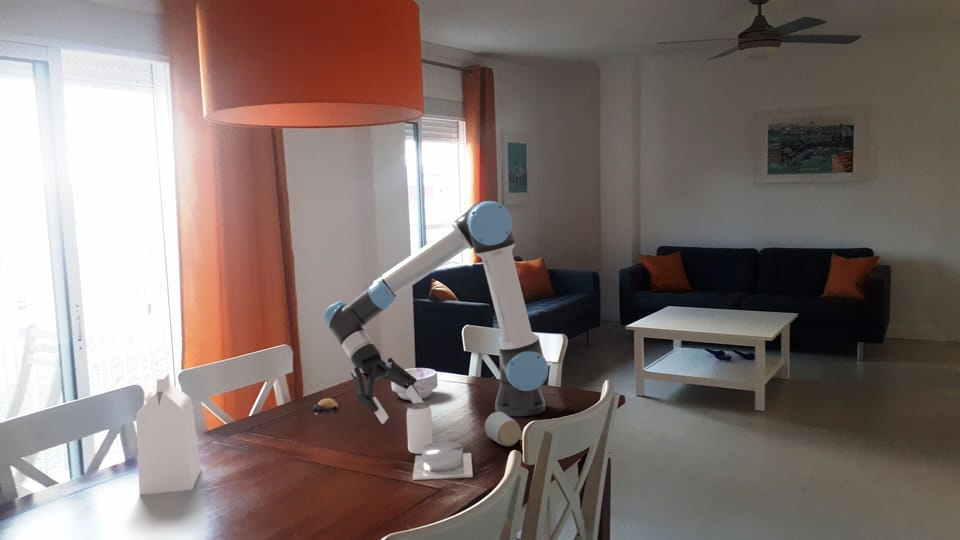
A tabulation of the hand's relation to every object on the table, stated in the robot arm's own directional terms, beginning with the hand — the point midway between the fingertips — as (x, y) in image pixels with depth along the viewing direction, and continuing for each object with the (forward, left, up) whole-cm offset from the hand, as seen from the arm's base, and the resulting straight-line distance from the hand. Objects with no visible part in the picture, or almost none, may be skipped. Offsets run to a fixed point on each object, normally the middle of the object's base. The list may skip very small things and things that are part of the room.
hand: (404, 413), depth 195 cm
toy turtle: (+27, -40, -10) cm, 49 cm away
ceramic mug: (-27, -1, -10) cm, 29 cm away
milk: (+55, +16, -9) cm, 58 cm away
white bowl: (0, -50, -9) cm, 51 cm away
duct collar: (-10, +15, -9) cm, 20 cm away
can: (-4, +2, -9) cm, 11 cm away
